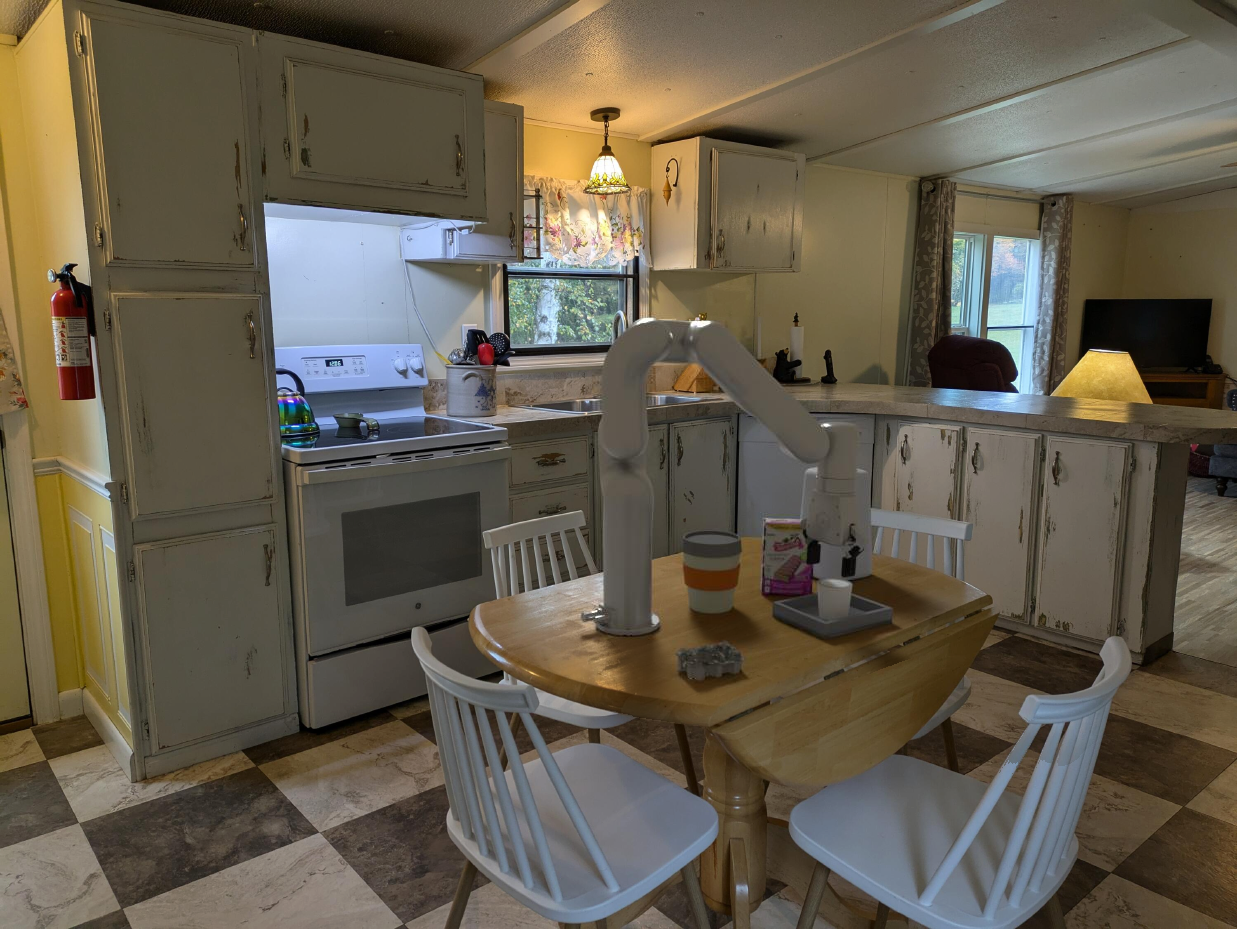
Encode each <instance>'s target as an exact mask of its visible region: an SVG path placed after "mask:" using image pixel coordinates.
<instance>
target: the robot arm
mask: <svg viewBox="0 0 1237 929" xmlns="http://www.w3.org/2000/svg"><path fill="white" fill-rule="evenodd" d="M656 363H663V364H665V363H666V364H683V365H692V364H694V365H698V366H699V367H700V368H701V369H702V370H703V371H704V372H705V373H706V374H707V375H708V376H709V377H710V378H711V379H712V381H713V382H715V384H717V386H718V387H719V388H720V389H721V390H722V391H723V392H724V393H725V394H726V395H727V396H728V397H729V399H731V401H732V402H733V403H735V404H736V406H738V407H739V408H740V409H741V410H743V411H744V412H745V413H746V414H748V415H750V416H751V417H753V418H754V419H756V420H757V421H758V422H759V423H760V424H762V425H763V426H764V427H765V428H767V429H768V430H769V431H770V433H772V434H773V435H774V437H775V438H776V442H777V446H778V447H779V449H780V451H781V452H782V453H784V454H785V455H787V456H789V457H790V458H792V459H794V460H796V461H798V462H800V463H802V464H805V465H806V464H807V465H810V464H811V465H812V464H816V463H817V467H818V468H817V476H816V477H815V481H816V489H814V490H813V493H812V496H811V500H810V504H809V510H808V517H807V518H806V519H803V520H801V526H802V530H803V532H802V533H803V535H804V537H805V539H806V540H805V543H806V545H807V559H806V564H808V565H812V564H818V563H820V553H821V544H818V543H819V542H823V543H826V544H830V545H833V546H841V548H842V550H843V552H844V554H845V557H843V558H842V570H841V576H842V577H844V578H845V577H851V576H855V571H856V557H858V556H859V555H860V553H861V552H862V551H864V547H865V546H866V544H867V542H868V538H867V537H866V536H865V535H864V534H863V533H862V532H861V531H860V530H859V529H858V501H857V495H855V491H856V477H857V469H858V462H859V450H860V448H859V447H860V435H861V433H860V428H859V426H858V425H857V424H855V423H851V422H845V421H827V422H818V420H816V418H815V417H814V416H813V415H812V414H811V413H810V412H809V411H808V410H807V408H805V407H804V406H803V405H802V404H801V403H800V401H798V400H797V399H796V398H795V397H794V395H792V394H791V393H790V392H789V391H788V390H786V388H785V387H783V385H782V384H781V383H780V382H779V381H778V380H777V379H776V378H775V377H773V375H772V374H771V373H770V372H768V371H767V369H766V368H765V367H764V366H763V365H762V364H761V363H760V362H759V361H758V360H757V359H756V358H755V357H754V356H753V355H752V354H751V353H750V352H749V351H748V349H747V348H746V347H745V346H744V345H743V344H742V343H741V341H739V340H738V339H737V338H736V337H735V335H734V334H733V333H732V332H731V331H730V330H729V329H728V328H727V327H726V326H725V325H723V324H722V323H720V322H717V321H715V320H701V321H700V320H699V321H697V320H695V321H694V320H693V321H691V320H689V321H687V320H686V321H685V320H668V319H667V320H666V319H659V318H657V317H643V318H639V319H637V320H635V321H634V322H632V323H631V324H630V325H629V326H628V327H627V329H625V330H624V331H623V332H622V333H620V335H619V336H618V337H617V338H616V339H615V340H614V342H613V343H612V344H611V346H610V347H609V349H608V350H607V353H606V355H605V358H604V360H603V365H602V370H601V419H600V421H599V424H598V427H597V444H598V464H599V482H600V490H601V494H602V504H603V505H602V506H603V509H602V511H603V516H602V518H603V519H602V522H603V523H602V550H603V551H602V552H603V554H602V556H603V558H602V559H603V562H602V563H603V566H602V567H603V569H602V570H603V602H599V603H598V607H596V608H595V610H588V611H583V612H581V614H580V619H581V621H582V623H587V622H592V621H593V624H595V626H596V628H597V629H598V630H600V631H601V632H603V633H606V634H609V633H610V634H611V635H614V636H615V635H616V636H623V635H627V636H630V635H632V636H641V635H645V634H649V633H652V632H654V631H656V630H657V629H659V627H660V624H661V621H660V617H658V615H657V614H654V613H653V612H652V611H653V610H652V609H653V607H652V606H653V605H652V603H653V590H652V588H653V520H654V504H655V493H654V488H653V484H652V481H651V479H650V478H649V477H648V474H647V462H646V460H647V459H646V458H647V457H646V456H647V455H646V449H647V446H648V443H649V440H650V432H649V424H648V410H647V409H648V408H647V380H648V377H649V376H648V375H649V373H650V371H651V369H652V367H653V366H654V365H655V364H656ZM856 541H857V543H856ZM855 543H856V544H855ZM848 546H850V548H851V550H849V548H848ZM610 634H609V635H610ZM627 636H626V637H627Z"/></svg>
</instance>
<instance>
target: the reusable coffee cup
mask: <svg viewBox="0 0 1237 929" xmlns="http://www.w3.org/2000/svg"><path fill="white" fill-rule="evenodd" d="M681 551H682V553H683V561H682V570H683V578H684V579H683V580H684V584H685V586H686V587H687V588H686V589H687V595H688V596H687V597H688V604H689V608H690V609H691V610H693V611H694V612H699V613H702V614H703V613H704V614H722V613H726V612H729V611H730V610H731V611H732V608H733V604H734V597H735V590H736V587H737V586H738V583H739V578H740V577H739V576H740V569H741V563H740V555H741V553H742V552H743V549H742V538H741V536H740V535H738V534H737V533H733V532H730V531H723V530H715V529H714V530H713V529H711V530H709V529H708V530H697V531H696V530H695V531H690V532H689V531H688V532H686V533H684V534H683V535H682V542H681Z"/></svg>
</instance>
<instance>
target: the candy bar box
mask: <svg viewBox="0 0 1237 929" xmlns="http://www.w3.org/2000/svg"><path fill="white" fill-rule="evenodd" d="M801 520H803V519H800V518H777V517H776V518H775V517H772V518H771V517H764V518H762V533H761V534H762V535H761V537H762V538H761V539H762V540H761V561H760V591H761V592H760V593H761V594H762V595H775V596H804V595H809V594H813V583H814V577H813V565H814V564H812V565H808V564H806V559H807V545H806V543H805V540H806V539H805V537H804V535H803V533H802V532H803V530H802V526H801Z"/></svg>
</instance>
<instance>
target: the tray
mask: <svg viewBox="0 0 1237 929" xmlns="http://www.w3.org/2000/svg"><path fill="white" fill-rule="evenodd" d="M893 612H894V608H893V607H891V606H889V605H885V604H882V603H880V602H877V601H874V600H871V599H868V598H867V597H863V596H860V595H858V594H854V593H852V592H851V599H850V606H849V613H848V616H847V617H843V618H839V619H835V620H831V621H828V620H824V619H822V618H820V616H819V606H818V592H814V593H812V594H809V595H804V596H800V595H798V596H796V597H790V598H786V599H781V600H777V601H776V600H775V601H773V602H772V613H771V614H772V617H773V618H775V619H777V620H779V621H781V622H785V623H786V624H788V625H791V626H794V627H796V628H798V629H800V630H803V631H805V632H807V633H809V634H812V635H814V636H817V637H819V638H821V639H822V640H827V639H831V638H836V637H840V636H844V635H848V634H852V633H856V632H859V631H864V630H868V629H872V628H877V627H881V626H884V625H888V624H891V623H893V614H894V613H893Z"/></svg>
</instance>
